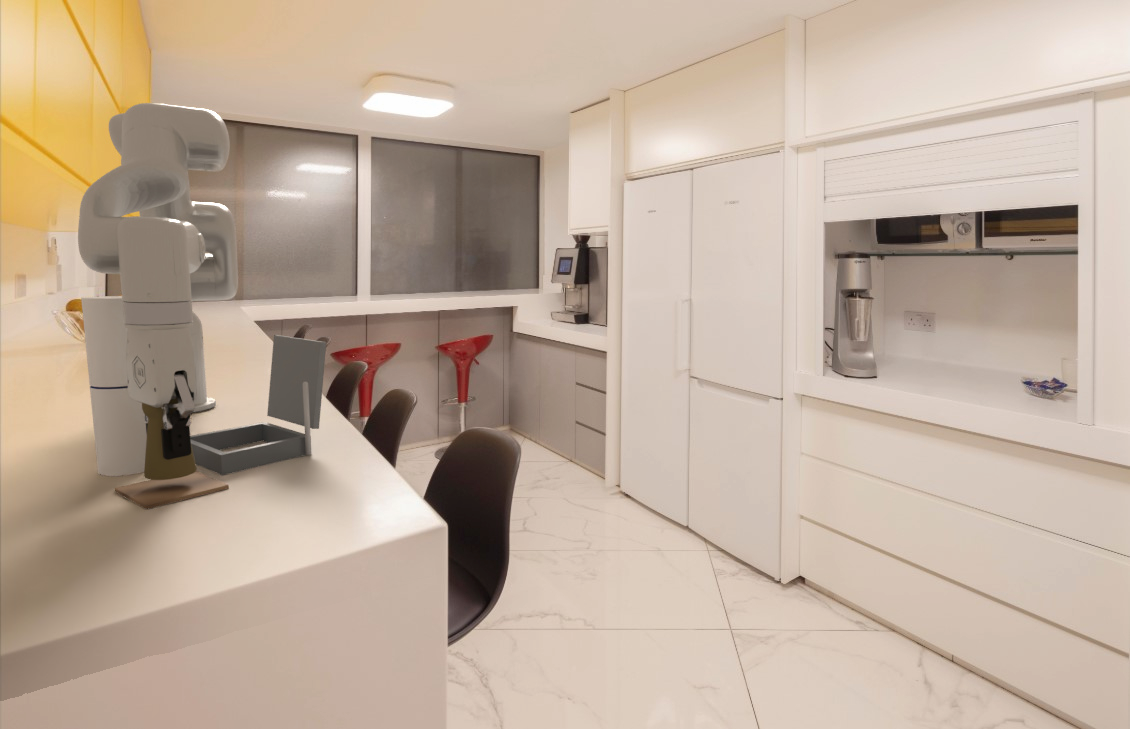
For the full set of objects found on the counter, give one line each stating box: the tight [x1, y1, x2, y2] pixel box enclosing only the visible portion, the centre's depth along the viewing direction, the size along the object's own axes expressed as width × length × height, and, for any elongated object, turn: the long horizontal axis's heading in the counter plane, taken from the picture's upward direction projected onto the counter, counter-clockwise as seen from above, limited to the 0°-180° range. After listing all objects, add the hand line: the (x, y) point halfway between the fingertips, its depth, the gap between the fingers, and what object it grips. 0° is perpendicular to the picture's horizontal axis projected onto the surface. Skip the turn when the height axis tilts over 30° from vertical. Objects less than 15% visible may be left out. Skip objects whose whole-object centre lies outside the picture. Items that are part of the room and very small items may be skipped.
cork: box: [142, 399, 198, 480], centre depth 85 cm, size 6×6×11 cm
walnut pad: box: [114, 470, 230, 510], centre depth 86 cm, size 10×10×1 cm
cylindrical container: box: [81, 295, 148, 477], centre depth 93 cm, size 7×7×25 cm
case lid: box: [266, 334, 327, 430], centre depth 107 cm, size 14×14×1 cm
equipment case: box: [190, 382, 312, 476], centre depth 101 cm, size 15×14×12 cm
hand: (169, 452), depth 86 cm, fingers closed on cork, 4 cm apart
